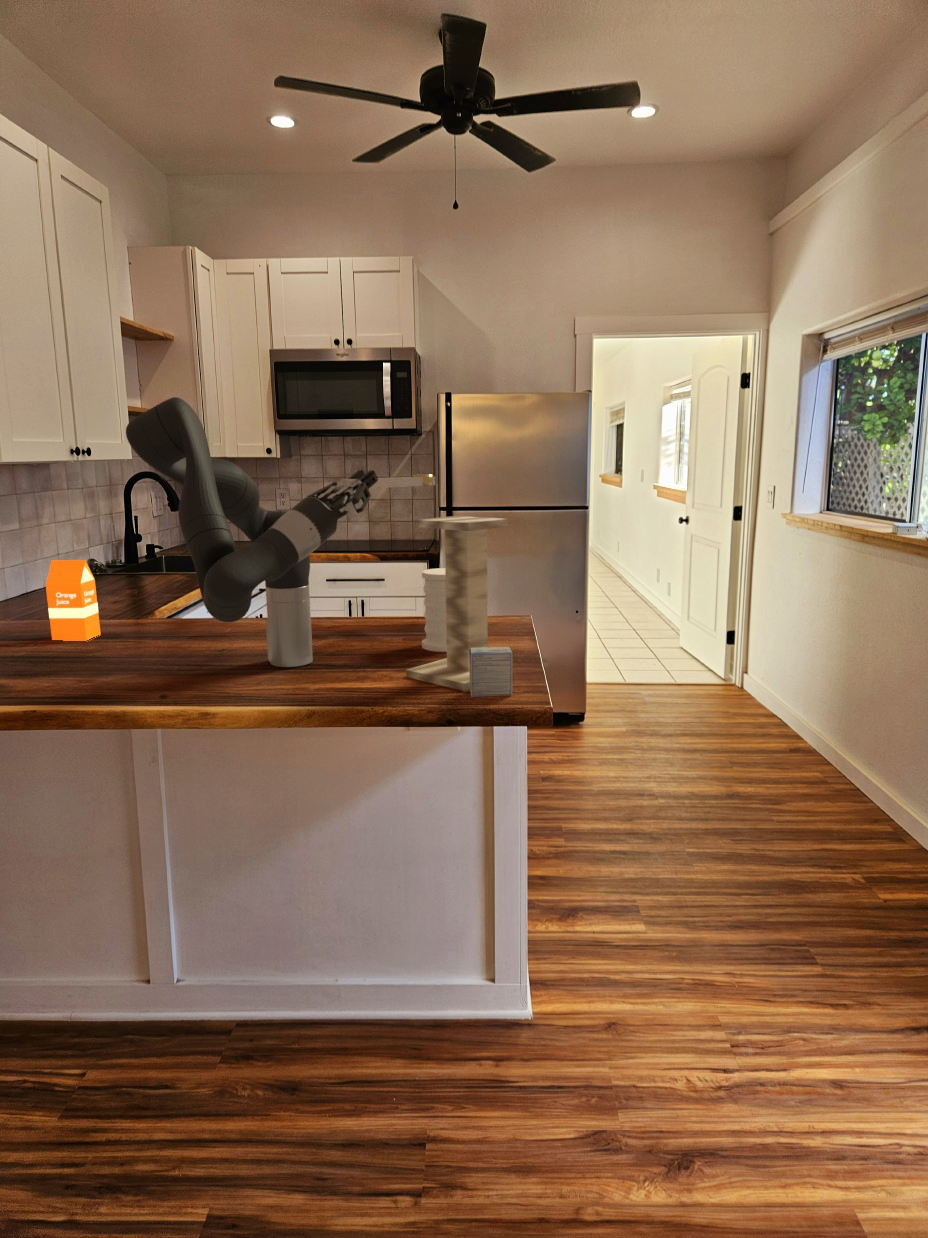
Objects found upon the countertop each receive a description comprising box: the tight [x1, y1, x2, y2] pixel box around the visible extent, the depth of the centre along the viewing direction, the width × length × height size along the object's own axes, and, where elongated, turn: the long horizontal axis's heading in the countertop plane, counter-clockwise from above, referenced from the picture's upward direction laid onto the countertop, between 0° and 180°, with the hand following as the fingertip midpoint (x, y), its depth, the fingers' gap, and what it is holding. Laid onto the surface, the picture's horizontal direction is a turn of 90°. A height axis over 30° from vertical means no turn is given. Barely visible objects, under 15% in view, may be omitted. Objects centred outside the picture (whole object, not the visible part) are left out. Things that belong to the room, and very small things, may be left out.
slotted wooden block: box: [339, 473, 436, 489], centre depth 144 cm, size 4×21×2 cm, turn 138°
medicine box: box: [469, 646, 513, 698], centre depth 152 cm, size 8×4×9 cm, turn 94°
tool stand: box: [405, 515, 510, 692], centre depth 162 cm, size 16×15×32 cm
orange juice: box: [45, 559, 101, 642], centre depth 202 cm, size 8×9×20 cm
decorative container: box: [421, 567, 447, 653], centre depth 189 cm, size 12×12×18 cm
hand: (368, 474), depth 140 cm, fingers closed on slotted wooden block, 2 cm apart
